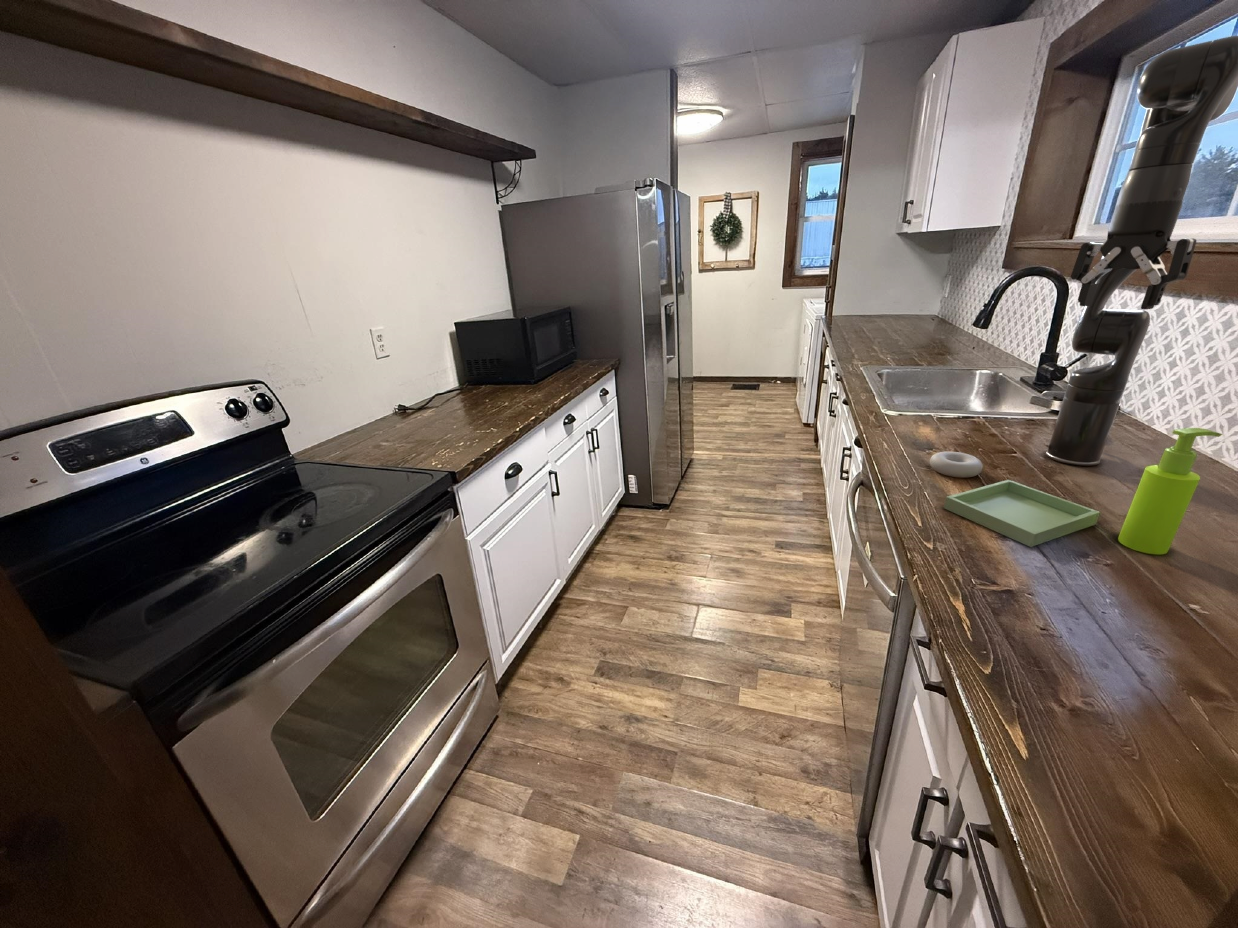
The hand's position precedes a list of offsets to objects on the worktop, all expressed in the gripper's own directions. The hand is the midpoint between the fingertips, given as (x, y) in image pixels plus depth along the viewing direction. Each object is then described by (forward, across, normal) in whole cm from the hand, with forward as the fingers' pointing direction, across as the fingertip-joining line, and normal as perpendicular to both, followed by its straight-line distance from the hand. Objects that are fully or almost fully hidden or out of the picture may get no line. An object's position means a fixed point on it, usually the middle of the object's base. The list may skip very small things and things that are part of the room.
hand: (1114, 307), depth 85 cm
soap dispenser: (+36, -17, +6) cm, 41 cm away
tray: (+36, -2, +14) cm, 39 cm away
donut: (+36, +17, +5) cm, 40 cm away
